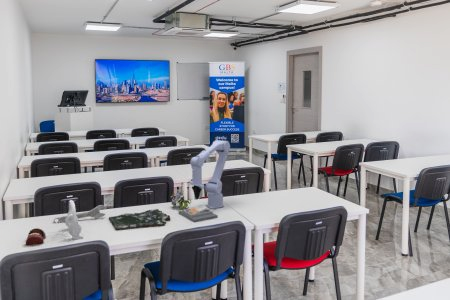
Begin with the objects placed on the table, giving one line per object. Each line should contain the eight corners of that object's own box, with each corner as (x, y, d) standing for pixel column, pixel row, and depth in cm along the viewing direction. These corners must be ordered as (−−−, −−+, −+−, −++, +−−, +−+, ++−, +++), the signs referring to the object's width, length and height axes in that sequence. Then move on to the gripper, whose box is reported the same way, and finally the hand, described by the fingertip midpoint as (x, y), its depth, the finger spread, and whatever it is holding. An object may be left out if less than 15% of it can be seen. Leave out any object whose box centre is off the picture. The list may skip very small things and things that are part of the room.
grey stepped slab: (201, 209, 264) (200, 204, 263) (217, 217, 247) (217, 212, 247) (178, 213, 255) (178, 208, 255) (194, 222, 239) (194, 216, 238)
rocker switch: (201, 206, 256) (201, 204, 256) (207, 209, 250) (206, 207, 250) (188, 213, 251) (187, 210, 251) (193, 216, 246) (192, 213, 245)
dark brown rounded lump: (24, 234, 201) (28, 226, 212) (24, 247, 201) (28, 238, 213) (43, 233, 203) (46, 226, 214) (43, 245, 204) (46, 237, 215)
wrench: (55, 227, 238) (107, 216, 247) (54, 228, 237) (107, 217, 246) (52, 214, 237) (105, 203, 246) (52, 215, 235) (105, 204, 244)
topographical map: (108, 219, 245) (108, 214, 244) (162, 212, 259) (162, 208, 258) (117, 233, 222) (117, 228, 221) (175, 225, 235) (175, 219, 235)
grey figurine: (65, 229, 227) (63, 197, 224) (78, 227, 230) (77, 196, 227) (68, 241, 209) (66, 207, 206) (83, 238, 212) (81, 205, 209)
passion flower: (173, 216, 268) (167, 198, 273) (191, 211, 273) (184, 193, 277) (176, 210, 257) (169, 191, 262) (194, 205, 262) (187, 186, 266)
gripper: (185, 175, 258) (185, 196, 260) (197, 179, 246) (197, 201, 248) (195, 173, 262) (195, 194, 264) (207, 177, 250) (207, 199, 252)
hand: (197, 197), depth 256 cm, fingers closed
